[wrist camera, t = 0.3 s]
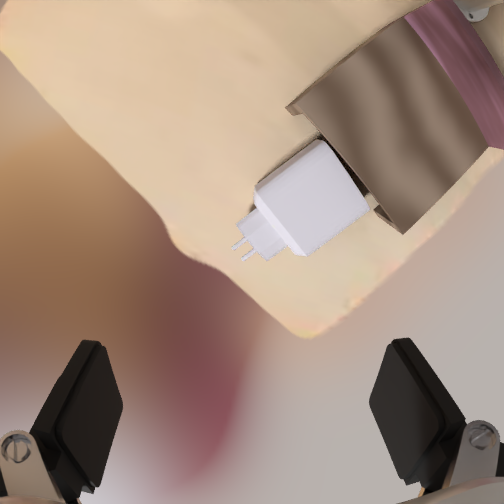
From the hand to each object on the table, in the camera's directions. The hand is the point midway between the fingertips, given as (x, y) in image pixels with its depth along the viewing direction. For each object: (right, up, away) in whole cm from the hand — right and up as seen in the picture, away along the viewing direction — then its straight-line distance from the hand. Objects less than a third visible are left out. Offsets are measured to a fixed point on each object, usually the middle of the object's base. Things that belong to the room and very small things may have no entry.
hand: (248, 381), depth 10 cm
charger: (+4, +9, +28) cm, 29 cm away
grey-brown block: (+16, +20, +23) cm, 35 cm away
